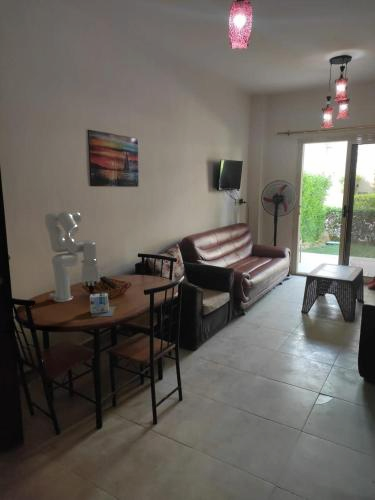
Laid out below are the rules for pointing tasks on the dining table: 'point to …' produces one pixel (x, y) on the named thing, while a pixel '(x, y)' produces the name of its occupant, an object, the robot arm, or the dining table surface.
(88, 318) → the dining table surface
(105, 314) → the mat
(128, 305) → the dining table surface
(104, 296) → the light bulb box
